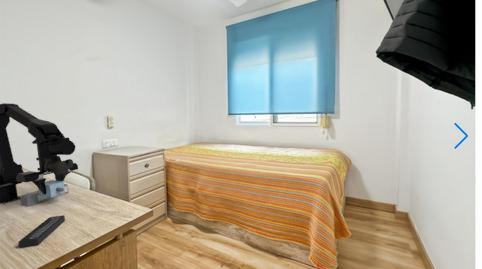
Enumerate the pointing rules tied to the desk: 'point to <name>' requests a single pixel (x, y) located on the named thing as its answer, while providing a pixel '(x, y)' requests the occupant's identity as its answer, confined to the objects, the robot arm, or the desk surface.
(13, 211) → the desk surface
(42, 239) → the multiport hub
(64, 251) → the desk surface
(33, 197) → the power strip
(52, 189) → the slate plug
